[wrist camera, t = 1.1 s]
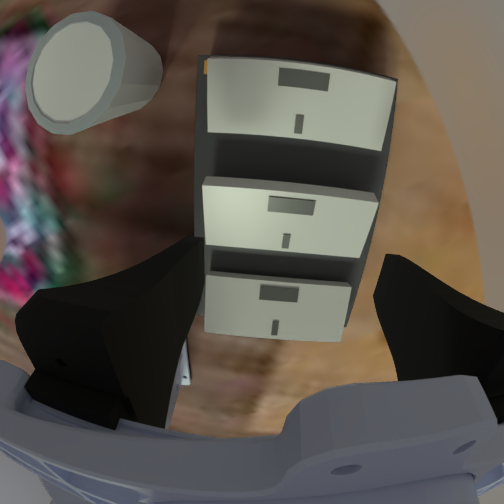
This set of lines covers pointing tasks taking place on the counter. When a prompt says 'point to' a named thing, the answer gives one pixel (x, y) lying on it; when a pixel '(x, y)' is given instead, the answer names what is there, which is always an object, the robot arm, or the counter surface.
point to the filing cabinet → (285, 170)
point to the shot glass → (90, 73)
